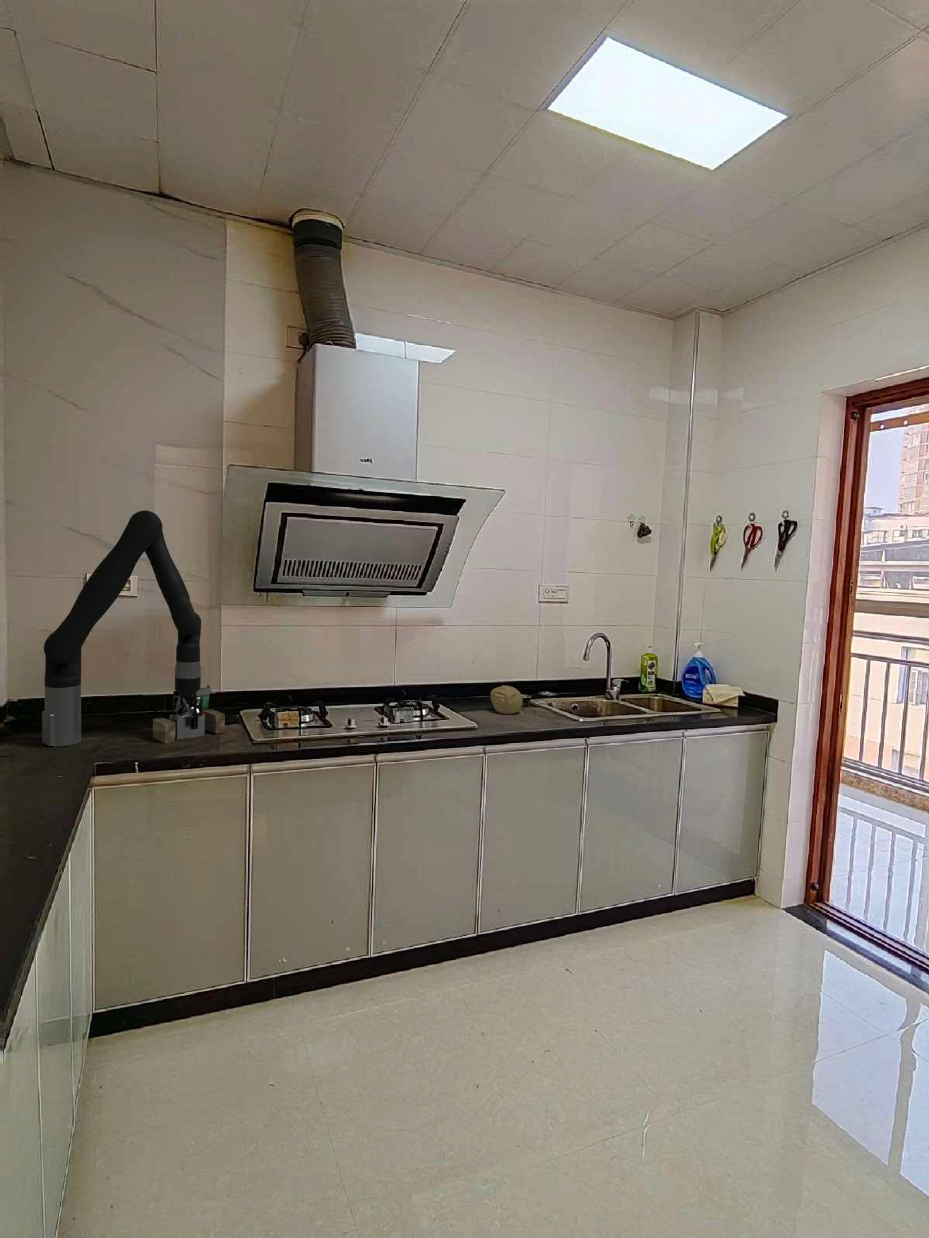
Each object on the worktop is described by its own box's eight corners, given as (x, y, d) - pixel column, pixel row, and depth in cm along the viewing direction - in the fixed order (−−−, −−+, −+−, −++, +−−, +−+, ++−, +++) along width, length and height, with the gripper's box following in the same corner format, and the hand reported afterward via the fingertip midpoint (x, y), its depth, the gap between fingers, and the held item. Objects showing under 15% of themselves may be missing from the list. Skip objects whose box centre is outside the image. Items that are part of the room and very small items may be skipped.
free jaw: (214, 733, 222) (214, 715, 221) (201, 728, 227) (201, 710, 226) (224, 732, 224) (224, 713, 224) (211, 727, 229) (211, 709, 229)
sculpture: (485, 711, 274) (486, 684, 273) (506, 708, 282) (508, 681, 281) (506, 717, 266) (507, 689, 265) (527, 713, 274) (529, 686, 273)
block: (177, 740, 214) (177, 718, 213) (169, 737, 217) (169, 715, 216) (204, 735, 221) (204, 713, 220) (196, 732, 224) (196, 711, 223)
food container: (186, 720, 238) (186, 691, 237) (176, 717, 242) (176, 688, 241) (218, 714, 248) (218, 687, 247) (208, 711, 252) (208, 684, 251)
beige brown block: (165, 743, 209) (165, 724, 209) (152, 738, 215) (152, 719, 214) (176, 741, 212) (176, 722, 211) (163, 736, 217) (163, 717, 217)
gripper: (165, 673, 219) (164, 723, 220) (187, 680, 210) (187, 732, 211) (187, 670, 225) (187, 720, 226) (210, 677, 215) (210, 728, 217)
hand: (187, 726), depth 219 cm, fingers open, 8 cm apart
